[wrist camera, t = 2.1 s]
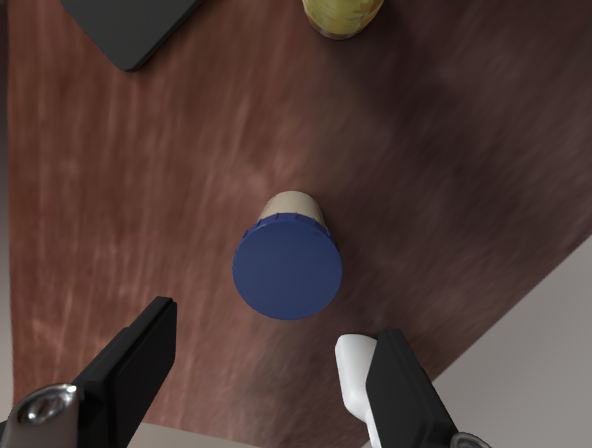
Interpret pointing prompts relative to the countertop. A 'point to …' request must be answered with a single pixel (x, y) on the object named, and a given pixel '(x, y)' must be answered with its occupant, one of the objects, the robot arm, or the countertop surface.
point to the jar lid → (287, 266)
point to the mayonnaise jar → (293, 206)
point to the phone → (129, 26)
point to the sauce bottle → (340, 16)
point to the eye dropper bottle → (356, 377)
